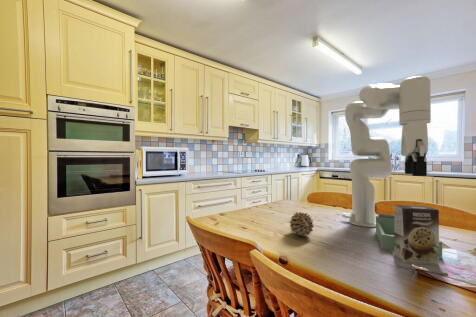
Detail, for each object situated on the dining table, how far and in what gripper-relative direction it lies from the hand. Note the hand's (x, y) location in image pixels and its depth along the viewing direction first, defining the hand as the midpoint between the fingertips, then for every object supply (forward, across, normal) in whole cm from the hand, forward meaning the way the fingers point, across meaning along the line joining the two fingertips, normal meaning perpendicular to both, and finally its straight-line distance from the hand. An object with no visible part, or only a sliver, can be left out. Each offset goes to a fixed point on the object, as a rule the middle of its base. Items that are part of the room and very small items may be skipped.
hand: (415, 174), depth 68 cm
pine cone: (+27, -11, -37) cm, 47 cm away
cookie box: (+26, 0, 0) cm, 26 cm away
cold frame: (+26, -16, 0) cm, 31 cm away
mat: (+26, +1, 0) cm, 26 cm away
